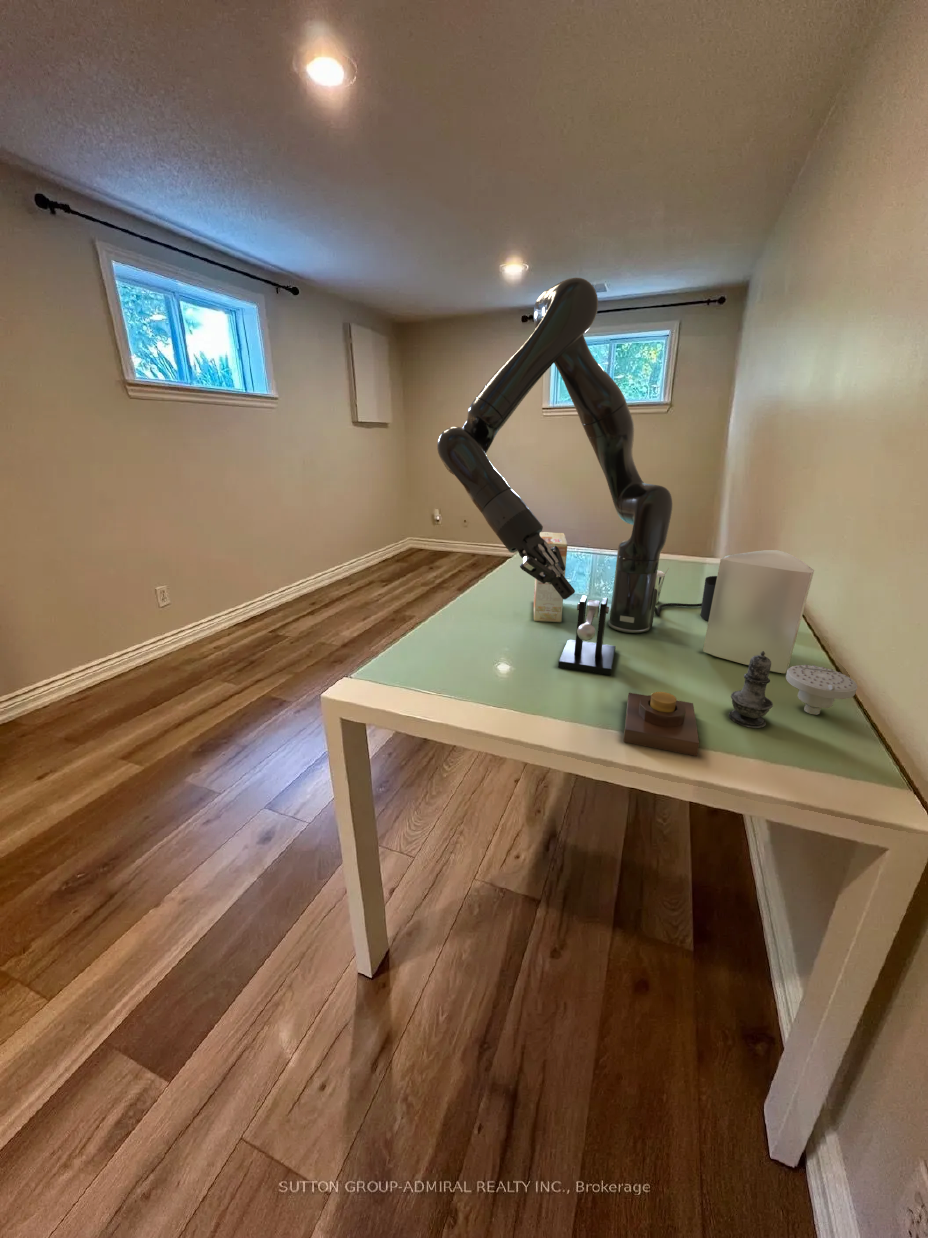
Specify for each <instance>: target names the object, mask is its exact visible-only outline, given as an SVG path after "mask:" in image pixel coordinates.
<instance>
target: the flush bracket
mask: <svg viewBox="0 0 928 1238" xmlns="http://www.w3.org/2000/svg"><path fill="white" fill-rule="evenodd" d="M608 601H609V598H608V597H602V598H601V601H600V605H599V614H598V624H597V625H598V626H597V633H596V634H597V635H596V641H595V642H591V641H584V640H582V639H580V638H579V637H578V634H577V631H576V632H575V633H576V634H575V639H567V640H566V643H565V645H564V647H563V649H562V652H561V654H560V656H559V659H558V664H557V667H558V668H560V669H566V670H572V671H578V672H586V673H591V674H598V675H604V676H611V675H612V670H613V664H614V658H615V653H616V645H612V644H606V643H605V644H604V635H605V627H606V618H607V614H609V613H610V606H608ZM587 603H588V595H581V597H580V600H579V601H578V603H577V605H576V610H577V611H578V613H577V622H576V630H577V629H578V627H579V626H580V625H581V624H583V623H585V622H586V609H587Z"/></svg>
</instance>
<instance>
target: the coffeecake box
mask: <svg viewBox="0 0 928 1238" xmlns="http://www.w3.org/2000/svg"><path fill="white" fill-rule="evenodd" d="M540 537H541V538H542V539H544V540H545V541H546V542H547V543H548V545H549V546H550V547H551V548H553V547H554V546H557V547H558V548H559V551H560V554H561V557H562V560H563V562H564V565H565V568H566V567H567V557H568V556H567V555H568V541H567V539H566V535H565V532H551V531H541V532H540ZM566 569H567V568H566ZM566 569H565V570H564V571H563V572H564V577H565V578H566ZM533 587H534V588H533V622H553V623H562V620H563V619H562V618H563V605H564V599H563V598H562V597H561V596H560V594H559V593H558V592H557V591H556V589H555V588H554V587H553V585H552V584H548V583H547V582H546V583H545V584H543V583H542V582H540V581H539V580H537V579H535V578H534V586H533Z"/></svg>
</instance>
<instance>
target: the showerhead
mask: <svg viewBox="0 0 928 1238" xmlns="http://www.w3.org/2000/svg"><path fill="white" fill-rule="evenodd" d="M785 680H786V682H787V683H788V684H790V685H791V686H792V687H794V688H795V689H798V692H797V698H798V700H799V701H801V702H802V703H804V707H803V711H804V712H806V713H808V714H811V715H814V716H815V715H820V713H821V710H822V709H828V708H832V706H833V705H834V702H835V700H846V699H851V698H854V696H855V695H856V693H857V690H858V683H857V682H856V681H855V680H854V679H852V678H851V677H849V676H848V675H845V674H843V673H842V672H840V671H837V670H834V669H832V668H827V667H824V666H817V665H815V664H813V665H808V664H801V665H800V664H799V665H793V666H789V668H788V670H787V671H786V673H785Z"/></svg>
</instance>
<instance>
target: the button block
mask: <svg viewBox="0 0 928 1238" xmlns="http://www.w3.org/2000/svg"><path fill="white" fill-rule="evenodd" d="M651 695H652V694H650V695H649V694H648V695H647V694H639V693H636V692H635V693H634V692H628V694H627V702H626V709H625V711H626V713H625V720H624V729H623V731H624V732H623V740H622V741H623V742H624V743H628V744H634V745H638V746H643V747H648V748H653V749H658V750H664V751H668V752H672V753H673V752H674V753H679V754H684V755H689V756H694V757H697V756H698V752H699V747H700V738H699V732H698V727H697V726H698V725H697V720H696V714H695V707H694V703H693V702H689V701H682V700H679V699H678V700H677V701H676V706H675V711H674V712H668V713H666V712H660V711H657V710H655V709H653V708H651V707H650V701H651Z"/></svg>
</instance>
